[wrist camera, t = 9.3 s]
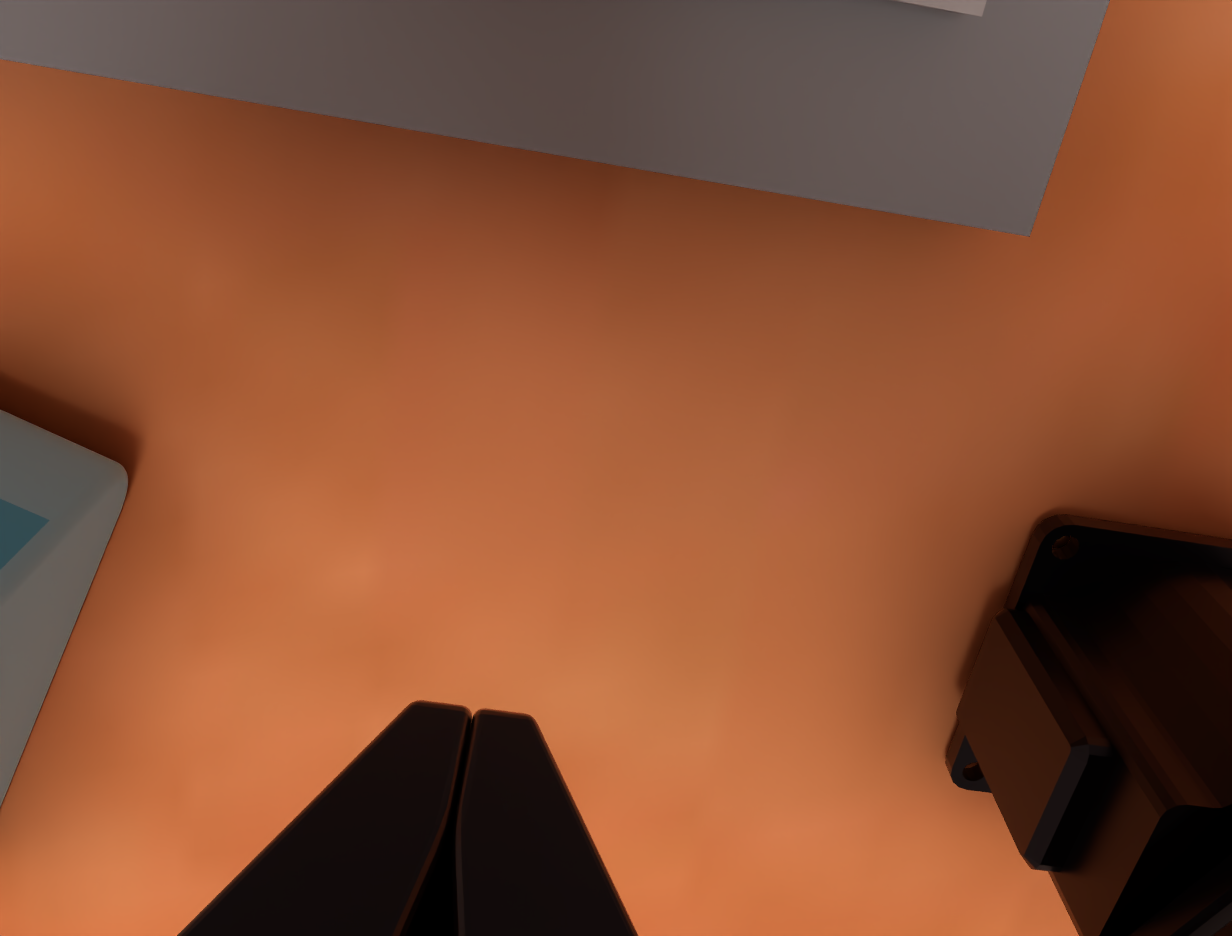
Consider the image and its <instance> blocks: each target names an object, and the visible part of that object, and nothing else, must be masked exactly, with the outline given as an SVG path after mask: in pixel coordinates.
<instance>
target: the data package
mask: <svg viewBox="0 0 1232 936" xmlns="http://www.w3.org/2000/svg"><path fill="white" fill-rule="evenodd" d="M127 488H128V475H127V472H126V470H125V469H124V467H123V466H122V465H121V464H119V463H118V462H116V461H113V460H111V459H109V458H107V457H105V456H102V455H100V454H98V453H96V452H94V451H91V450H89V449H87V448H85V447H82V446H80V445H78V444H76V443H74V442H71V441H69V440H67V439H65V438H63V437H60V436H58V435H56V434H54V433H51V432H49V431H47V430H45V429H43V428H40V427H38V426H36V425H34V424H32V423H29V422H27V421H25V420H23V419H20V418H18V417H16V416H14V415H12V414H9V413H7V412H5V411H3V410H1V409H0V807H1V804H2V802H3V799H4V797H5V794H6V792H7V790H8V787H9V785H10V782H11V780H12V777H13V775H14V772H15V770H16V767H17V765H18V763H19V760H20V758H21V755H22V753H23V750H24V748H25V745H26V743H27V740H28V738H29V735H30V733H31V731H32V728H33V726H34V723H35V721H36V718H37V716H38V713H39V711H40V708H41V706H42V704H43V701H44V699H45V696H46V694H47V691H48V689H49V686H50V684H51V681H52V679H53V676H54V674H55V672H56V669H57V667H58V664H59V662H60V659H61V657H62V654H63V652H64V649H65V647H66V645H67V642H68V640H69V637H70V635H71V632H72V630H73V627H74V625H75V622H76V620H77V617H78V615H79V613H80V610H81V608H82V605H83V603H84V600H85V598H86V595H87V593H88V590H89V588H90V586H91V583H92V581H93V578H94V576H95V573H96V571H97V568H98V566H99V563H100V561H101V558H102V556H103V554H104V551H105V549H106V546H107V544H108V541H109V539H110V536H111V534H112V531H113V529H114V527H115V524H116V522H117V519H118V517H119V514H120V512H121V509H122V506H123V503H124V500H125V497H126V493H127Z"/></svg>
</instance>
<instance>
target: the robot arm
mask: <svg viewBox="0 0 1232 936" xmlns="http://www.w3.org/2000/svg"><path fill="white" fill-rule="evenodd" d="M1063 536H1071V539H1070V541H1069V542H1068V543H1067V545H1065V546H1063V547H1061V548H1058V549H1052V546H1053V544H1054V543H1055V542H1056V540H1058V539H1060V538H1061V537H1063ZM956 715H957V718H958V720H959V724H958V727H957V729H956V732H955V735H954V737H953V740H952V742H951V745H950V747H949V750H948V753H947V755H946V761H945V763H946V766H947V768H948V771H949V773H950V776H951V778H952V780H953V783H955V784H956V785H957V786H958V787H960V788H963V789H966V790H973V791H981V792H988V793H992V794H993V796H994V798H995V801H996V803H997V805H998V807H999V809H1000V811H1001V814H1002V816H1003V818H1004V820H1005V822H1006V824H1007V827H1008V829H1009V831H1010V833H1011V835H1012V837H1013V840H1014V842H1015V844H1016V846H1017V848H1018V850H1019V853H1020V854H1021V856H1022V857H1023V859H1024V860H1025V861H1026V863H1027V864H1028V865H1029V867H1030V868H1031V869H1035V870H1043V871H1048V872H1049V874H1050V876H1051V878H1052V881H1053V883H1054V885H1055V887H1056V889H1057V891H1058V893H1059V895H1060V897H1061V899H1062V901H1063V903H1064V905H1065V907H1066V910H1067V912H1068V914H1069V916H1070V918H1071V920H1072V922H1073V924H1074V926H1075V928H1076V930H1077V932H1078V934H1079V936H1232V540H1231V539H1224V538H1218V537H1211V536H1205V535H1198V534H1191V533H1185V532H1178V531H1172V530H1165V529H1158V528H1152V527H1145V526H1139V525H1132V524H1125V523H1119V522H1112V521H1106V520H1099V519H1092V518H1086V517H1079V516H1073V515H1055V516H1052V517H1049V518H1047V519H1045V520H1044V521H1043V522H1041V523H1040V524H1039V525H1038V526H1037V527H1036V529H1035V531H1034V532H1033V534H1032V536H1031V539H1030V542H1029V544H1028V547H1027V549H1026V552H1025V554H1024V557H1023V560H1022V562H1021V565H1020V567H1019V570H1018V572H1017V575H1016V578H1015V580H1014V583H1013V585H1012V588H1011V590H1010V593H1009V596H1008V598H1007V601H1006V603H1005V606H1004V609H1002V610H1000V611H999V612H998V613H997V614H996V615H995V616H994V617H993V618H992V620H991V623H990V625H989V628H988V630H987V633H986V636H985V638H984V641H983V643H982V646H981V649H980V651H979V654H978V656H977V659H976V662H975V664H974V667H973V669H972V672H971V675H970V677H969V680H968V682H967V685H966V688H965V690H964V693H963V695H962V698H961V701H960V703H959V706H958V708H957V712H956ZM471 721H472V723H471ZM975 762H978V764H977V765H975V766H974V767H972V768H965V767H966V765H968V764H970V763H975ZM177 936H638V934H637V932H636V930H635V928H634V926H633V923H632V921H631V919H630V917H629V915H628V913H627V911H626V909H625V907H624V905H623V902H622V900H621V898H620V896H619V894H618V892H617V890H616V888H615V886H614V884H613V881H612V879H611V877H610V875H609V873H608V871H607V869H606V867H605V865H604V863H603V860H602V858H601V856H600V854H599V852H598V850H597V848H596V846H595V844H594V842H593V839H592V837H591V835H590V833H589V831H588V829H587V827H586V825H585V823H584V821H583V818H582V816H581V814H580V812H579V810H578V808H577V806H576V804H575V802H574V800H573V797H572V795H571V793H570V791H569V789H568V787H567V785H566V783H565V781H564V779H563V776H562V774H561V772H560V770H559V768H558V766H557V764H556V762H555V760H554V758H553V755H552V753H551V751H550V749H549V747H548V745H547V743H546V741H545V739H544V736H543V734H542V732H541V730H540V728H539V726H538V724H537V722H536V721H535V719H534V718H533V717H532V716H530V715H528V714H524V713H516V712H508V711H501V710H493V709H480V710H478V711H476V713H475V714H474V715H473V718H472V714H471V712H470V710H469V709H468V708H467V707H465V706H462V705H454V704H447V703H439V702H431V701H424V700H419V701H415V702H412V703H410V704H409V705H408V706H407V707H406V708H405V709H404V710H403V711H402V712H401V713H400V714H399V715H398V716H397V717H396V718H395V719H394V720H393V721H392V722H391V723H390V724H389V725H388V726H387V727H386V728H385V729H384V730H383V731H382V732H381V733H380V734H379V735H378V736H377V737H376V738H375V739H374V740H373V741H372V742H371V743H370V744H369V745H368V746H367V747H366V748H365V749H364V750H363V751H362V752H361V753H360V754H359V755H358V756H357V757H356V758H355V759H354V760H353V761H352V762H351V763H350V764H349V765H348V766H347V767H346V768H345V769H344V770H343V771H342V772H341V773H340V774H339V775H338V776H337V777H336V778H335V779H334V780H333V781H332V782H331V783H330V784H329V785H328V786H327V787H326V788H325V789H324V790H323V791H322V792H321V793H320V794H319V795H318V796H317V797H316V798H315V799H314V800H313V801H312V802H311V803H310V804H309V805H308V806H307V807H306V808H305V809H304V810H303V811H302V812H301V813H300V814H299V815H298V816H297V817H296V818H295V819H294V820H293V821H292V822H291V823H290V824H289V825H288V826H287V827H286V828H285V829H284V830H283V831H282V832H281V833H280V834H279V835H278V836H277V837H276V838H275V839H273V840H272V841H271V842H270V843H269V844H268V845H267V846H266V847H265V848H264V849H263V850H262V851H261V852H260V853H259V854H258V855H257V856H256V857H255V858H254V859H253V860H252V861H251V862H250V863H249V864H248V865H247V866H246V867H245V868H244V869H243V870H242V871H241V872H240V873H239V874H238V875H237V876H236V877H235V878H234V879H233V880H232V881H231V882H230V883H229V884H228V885H227V886H226V887H225V888H224V889H223V890H222V891H221V892H220V893H219V894H218V895H217V896H216V897H215V898H214V899H213V900H212V901H211V902H210V903H209V904H208V905H207V906H206V907H205V908H204V909H203V910H202V911H201V912H200V913H199V914H198V915H197V916H196V917H195V918H194V919H193V920H192V921H191V922H190V923H189V924H188V925H187V926H186V927H185V928H184V929H183V930H182V931H181V932H180V933H179V934H178V935H177Z"/></svg>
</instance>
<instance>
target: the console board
mask: <svg viewBox="0 0 1232 936" xmlns="http://www.w3.org/2000/svg"><path fill="white" fill-rule="evenodd" d="M1109 1H1110V0H0V59H3V60H9V61H14V62H20V63H26V64H32V65H38V66H43V67H49V68H55V69H61V70H67V71H72V72H78V73H84V74H90V75H96V76H101V77H107V78H113V79H119V80H125V81H130V82H136V83H142V84H148V85H153V86H159V87H165V88H171V89H177V90H182V91H188V92H194V93H200V94H206V95H211V96H217V97H223V98H229V99H235V100H240V101H246V102H252V103H258V104H264V105H269V106H275V107H281V108H287V109H293V110H298V111H304V112H310V113H316V114H322V115H327V116H333V117H339V118H345V119H350V120H356V121H362V122H368V123H374V124H379V125H385V126H391V127H397V128H403V129H408V130H414V131H420V132H426V133H432V134H437V135H443V136H449V137H455V138H461V139H466V140H472V141H478V142H484V143H490V144H495V145H501V146H507V147H513V148H519V149H524V150H530V151H536V152H542V153H548V154H553V155H559V156H565V157H571V158H576V159H582V160H588V161H594V162H600V163H605V164H611V165H617V166H623V167H629V168H634V169H640V170H646V171H652V172H658V173H663V174H669V175H675V176H681V177H687V178H692V179H698V180H704V181H710V182H716V183H721V184H727V185H733V186H739V187H745V188H750V189H756V190H762V191H768V192H774V193H779V194H785V195H791V196H797V197H802V198H808V199H814V200H820V201H826V202H831V203H837V204H843V205H849V206H855V207H860V208H866V209H872V210H878V211H884V212H889V213H895V214H901V215H907V216H913V217H918V218H924V219H930V220H936V221H942V222H947V223H953V224H959V225H965V226H971V227H976V228H982V229H988V230H994V231H1000V232H1005V233H1011V234H1017V235H1023V236H1028V237H1030V234H1031V231H1032V228H1033V225H1034V222H1035V219H1036V216H1037V213H1038V210H1039V207H1040V204H1041V201H1042V199H1043V196H1044V193H1045V190H1046V187H1047V184H1048V181H1049V178H1050V175H1051V172H1052V169H1053V166H1054V163H1055V160H1056V157H1057V154H1058V151H1059V148H1060V146H1061V143H1062V140H1063V137H1064V134H1065V131H1066V128H1067V125H1068V122H1069V119H1070V116H1071V113H1072V110H1073V107H1074V104H1075V101H1076V98H1077V96H1078V93H1079V90H1080V87H1081V84H1082V81H1083V78H1084V75H1085V72H1086V69H1087V66H1088V63H1089V60H1090V57H1091V54H1092V51H1093V48H1094V46H1095V43H1096V40H1097V37H1098V34H1099V31H1100V28H1101V25H1102V22H1103V19H1104V16H1105V13H1106V10H1107V7H1108V4H1109Z"/></svg>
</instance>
